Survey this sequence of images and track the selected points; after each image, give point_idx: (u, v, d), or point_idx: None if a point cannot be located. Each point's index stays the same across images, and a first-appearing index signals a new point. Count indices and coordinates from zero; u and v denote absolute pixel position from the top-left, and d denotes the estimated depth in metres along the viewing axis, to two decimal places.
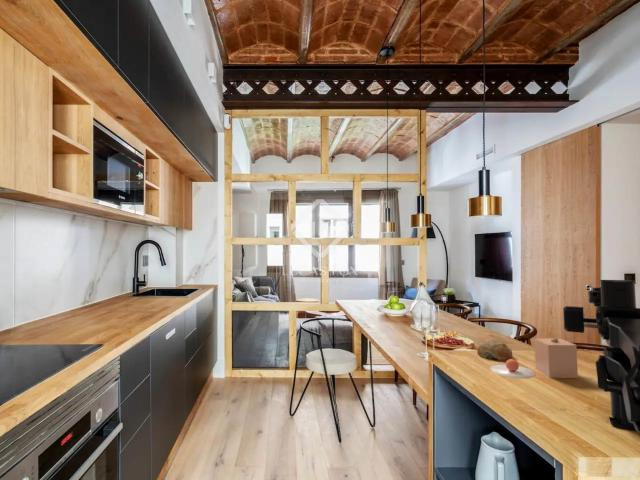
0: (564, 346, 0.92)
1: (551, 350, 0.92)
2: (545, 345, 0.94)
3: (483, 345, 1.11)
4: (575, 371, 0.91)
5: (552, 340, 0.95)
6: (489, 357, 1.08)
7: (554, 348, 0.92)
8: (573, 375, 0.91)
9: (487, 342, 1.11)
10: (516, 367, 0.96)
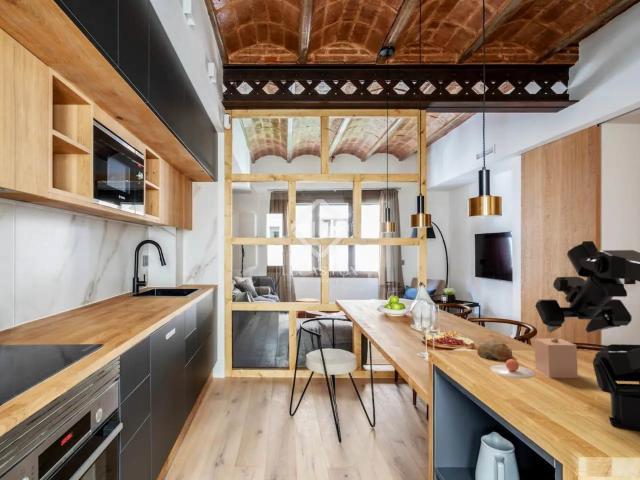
0: (564, 346, 0.92)
1: (551, 350, 0.92)
2: (545, 345, 0.94)
3: (483, 345, 1.11)
4: (575, 371, 0.91)
5: (552, 340, 0.95)
6: (489, 357, 1.08)
7: (554, 348, 0.92)
8: (573, 375, 0.91)
9: (487, 342, 1.11)
10: (516, 367, 0.96)
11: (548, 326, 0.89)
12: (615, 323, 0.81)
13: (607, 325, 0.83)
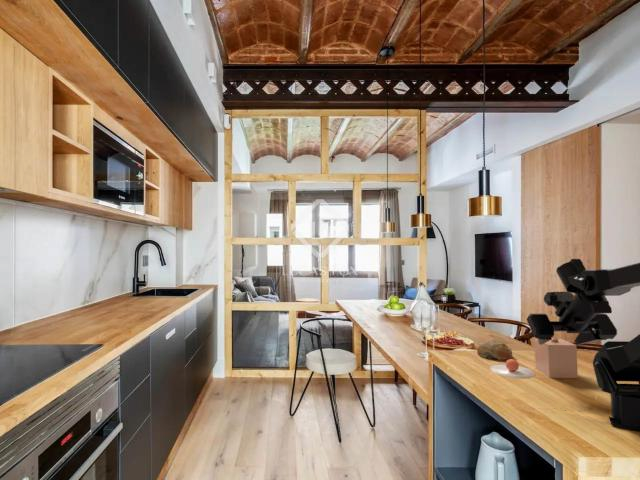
0: (564, 346, 0.92)
1: (551, 350, 0.92)
2: (545, 345, 0.94)
3: (483, 345, 1.11)
4: (575, 371, 0.91)
5: (552, 340, 0.95)
6: (489, 357, 1.09)
7: (554, 348, 0.92)
8: (573, 375, 0.91)
9: (487, 342, 1.11)
10: (516, 367, 0.96)
11: (539, 338, 0.93)
12: (602, 337, 0.86)
13: (594, 338, 0.87)
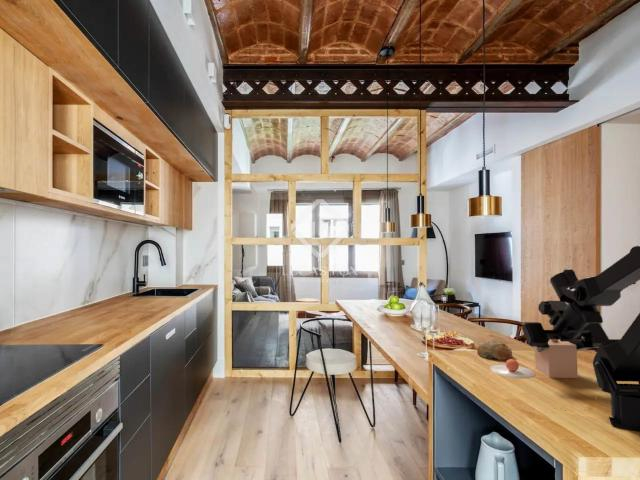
0: (564, 346, 0.92)
1: (551, 350, 0.92)
2: None
3: (483, 345, 1.11)
4: (575, 371, 0.91)
5: (552, 340, 0.95)
6: (489, 357, 1.09)
7: (554, 348, 0.92)
8: (573, 375, 0.91)
9: (487, 342, 1.11)
10: (516, 367, 0.96)
11: (537, 346, 0.96)
12: (594, 345, 0.88)
13: (583, 346, 0.90)
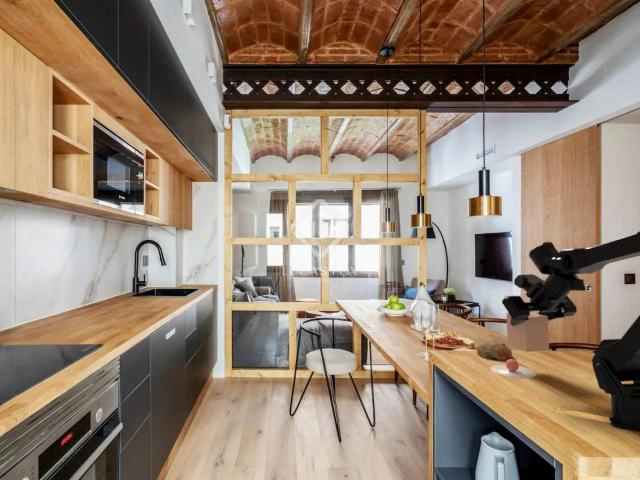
0: (538, 318, 0.94)
1: (528, 322, 0.93)
2: None
3: (482, 345, 1.11)
4: (547, 341, 0.94)
5: None
6: (489, 357, 1.09)
7: (530, 321, 0.94)
8: (545, 345, 0.94)
9: (487, 342, 1.11)
10: (516, 367, 0.96)
11: (512, 320, 0.96)
12: (565, 314, 0.92)
13: (555, 317, 0.93)
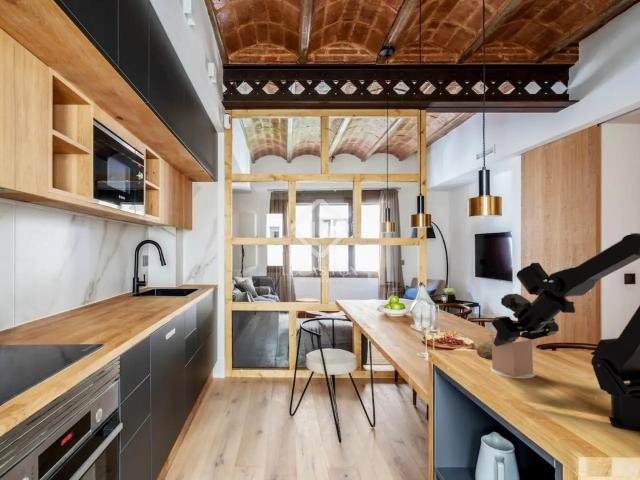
0: (524, 342, 0.94)
1: (515, 347, 0.93)
2: (509, 343, 0.94)
3: (482, 345, 1.11)
4: (531, 365, 0.95)
5: None
6: (489, 357, 1.09)
7: (517, 345, 0.94)
8: (530, 369, 0.95)
9: (487, 342, 1.11)
10: None
11: (497, 341, 0.95)
12: (548, 333, 0.94)
13: (541, 335, 0.95)
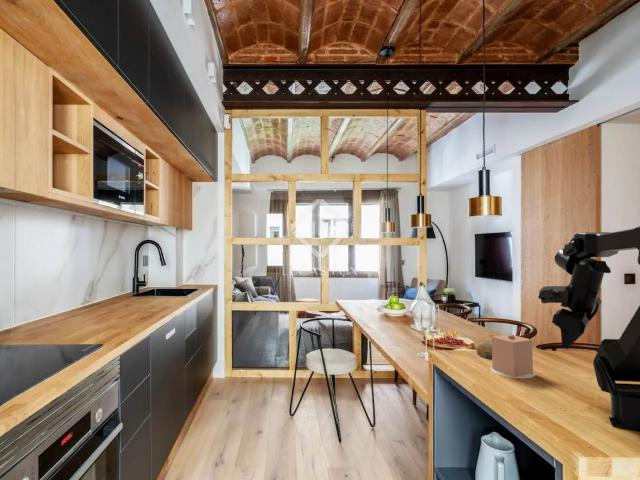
0: (524, 342, 0.94)
1: (515, 347, 0.93)
2: (509, 343, 0.94)
3: (482, 345, 1.11)
4: (531, 365, 0.95)
5: (510, 337, 0.97)
6: (488, 356, 1.09)
7: (517, 345, 0.94)
8: (530, 369, 0.95)
9: (486, 342, 1.11)
10: None
11: (566, 341, 0.84)
12: (598, 308, 0.87)
13: (593, 314, 0.88)
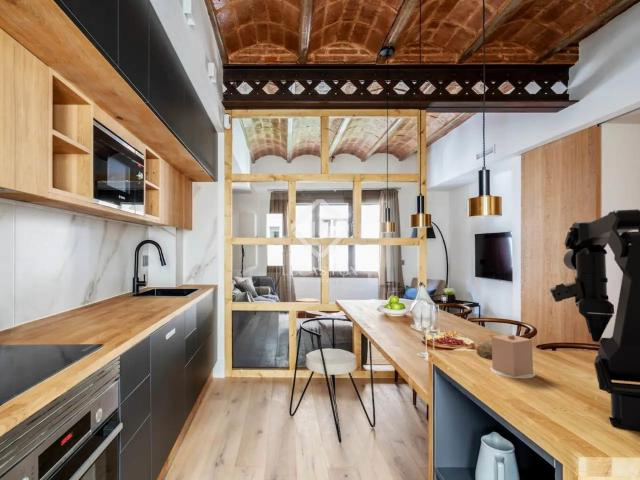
0: (524, 342, 0.94)
1: (515, 347, 0.93)
2: (509, 343, 0.94)
3: (482, 344, 1.12)
4: (531, 365, 0.95)
5: (510, 337, 0.97)
6: (488, 356, 1.09)
7: (517, 345, 0.94)
8: (530, 369, 0.95)
9: (486, 341, 1.12)
10: None
11: (596, 333, 0.81)
12: None
13: None
